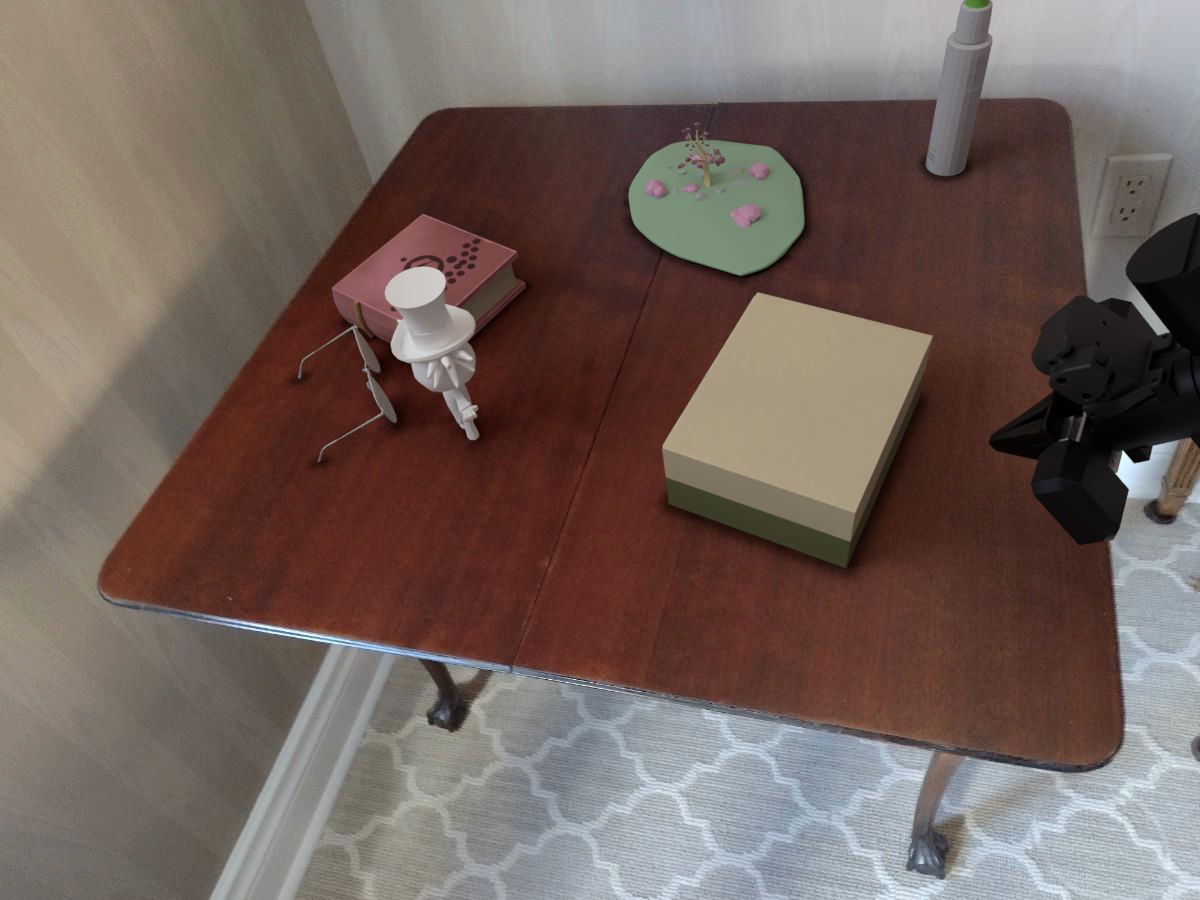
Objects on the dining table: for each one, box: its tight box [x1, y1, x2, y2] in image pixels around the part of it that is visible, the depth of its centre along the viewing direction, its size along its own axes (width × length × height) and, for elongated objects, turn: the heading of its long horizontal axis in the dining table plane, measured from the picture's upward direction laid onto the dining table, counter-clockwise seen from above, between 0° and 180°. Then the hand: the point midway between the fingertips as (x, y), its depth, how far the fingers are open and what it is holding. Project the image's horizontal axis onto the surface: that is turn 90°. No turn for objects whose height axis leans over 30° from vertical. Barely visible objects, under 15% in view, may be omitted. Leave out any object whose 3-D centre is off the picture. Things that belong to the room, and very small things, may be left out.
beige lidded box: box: [661, 291, 934, 569], centre depth 77 cm, size 16×20×8 cm
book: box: [331, 213, 527, 344], centre depth 97 cm, size 14×15×5 cm
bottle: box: [925, 0, 994, 177], centre depth 95 cm, size 4×4×20 cm
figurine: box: [385, 267, 480, 441], centre depth 80 cm, size 10×8×18 cm
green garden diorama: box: [628, 121, 805, 277], centre depth 100 cm, size 25×21×9 cm
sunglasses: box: [297, 325, 398, 463], centre depth 90 cm, size 14×8×5 cm, turn 21°
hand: (992, 443), depth 68 cm, fingers closed
